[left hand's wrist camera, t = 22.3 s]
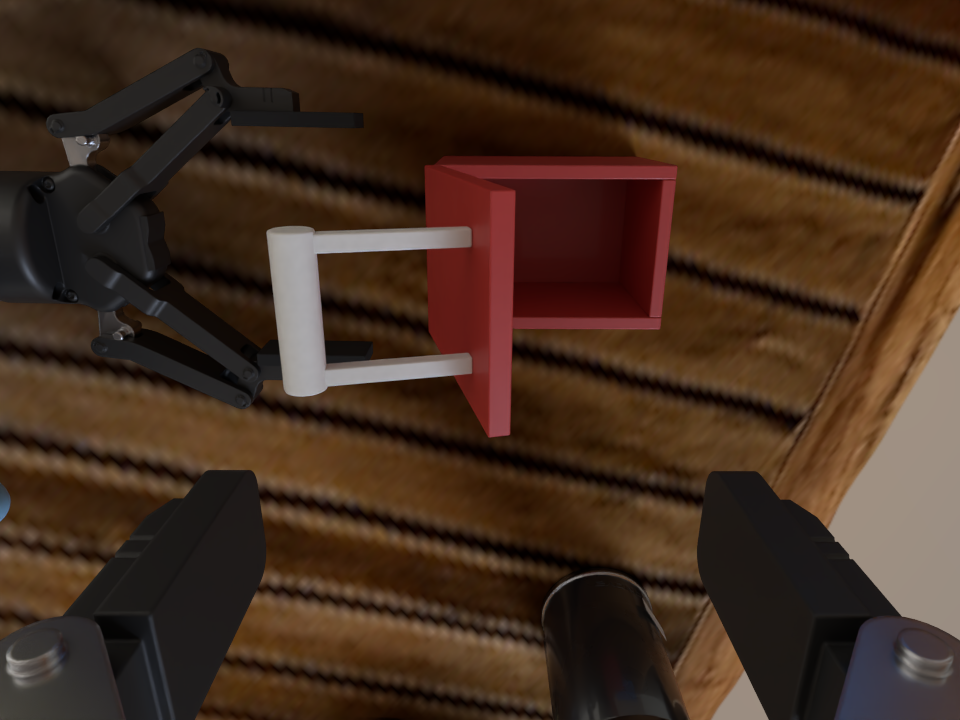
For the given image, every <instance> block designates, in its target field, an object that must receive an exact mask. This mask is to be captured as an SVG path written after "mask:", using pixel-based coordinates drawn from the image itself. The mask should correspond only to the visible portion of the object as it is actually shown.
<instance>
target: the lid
mask: <svg viewBox="0 0 960 720" xmlns="http://www.w3.org/2000/svg"><path fill="white" fill-rule="evenodd" d="M515 194H516V192H515V190H513V189H510V188H507V187H504V186H501V185H498V184H495V183H492V182H489V181H486V180H483V179H480V178H477V177H474V176H471V175H468V174H465V173H462V172H459V171H456V170H453V169H450V168H447V167H444V166H441V165H425V201H426V228H403V229H373V230H344V231H315V230H314V229H313V228H311V227H305V226H284V227H276V228H272V229H269V230H267V242H268V250H269V259H270V268H271V277H272V286H273V295H274V304H275V313H276V322H277V331H278V340H279V349H280V358H281V367H282V376H283V384H284V390H285V392H286V393H287V394H289V395H292V396H312V395H316V394H319V393H321V392H323V391H325V390H326V389H327V387H328V386H337V385H349V384H360V383H371V382H383V381H394V380H406V379H417V378H429V377H440V376H451V375H454V377H455V379H456V381H457V382H458V384H459V386H460V388H461V389H462V391H463V393H464V395H465V397H466V398H467V400H468V402H469V404H470V405H471V407H472V409H473V411H474V413H475V414H476V416H477V418H478V420H479V421H480V423H481V425H482V427H483V429H484V430H485V432H486V434H487V436H488V437H497V436H506V435H510V417H511V372H512V328H513V283H514V239H515ZM416 249H427V279H428V319H429V333H430V334H431V336H432V338H433V340H434V341H435V343H436V345H437V347H438V349H439V350H440V352H441V354H442V355H432V356H419V357H406V358H394V359H381V360H369V361H356V362H344V363H331V364H326V355H325V344H324V332H323V320H322V309H321V297H320V285H319V274H318V262H317V254H319V253H344V252H368V251H392V250H416Z"/></svg>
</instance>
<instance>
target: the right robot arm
mask: <svg viewBox="0 0 960 720" xmlns="http://www.w3.org/2000/svg"><path fill="white" fill-rule="evenodd" d="M203 87H204V88H203ZM201 88H203V89H204V90H205V93H204V94H203V95H202V96H201V97H200V98H199V99H198V100H197V101H196V102H195V103H194V104H193V105H192V106H191V107H190V108H189V109H188V110H187V111H186V112H185V113H184V114H183V115H182V116H181V117H180V118H179V119H178V120H177V121H176V122H175V123H174V124H173V125H172V126H171V127H170V128H169V129H168V130H167V131H166V132H165V133H164V134H163V135H162V136H161V137H160V138H159V139H158V140H157V141H156V142H155V143H154V144H153V145H152V146H151V147H150V148H149V149H148V150H147V151H146V152H145V153H144V154H143V155H142V156H141V157H140V158H139V159H138V160H137V161H136V162H135V163H134V164H133V165H132V166H131V167H130V168H128V169H126V170H124V171H123V172H122V173H120V174H119V175H118V176H116V175H115V174H113V173H112V172H110V171H109V170H107V169H106V168H104V167H102V166H100V165H98V164H97V163H96V156H97V154H98V153H99V152H100V151H102V150H104V149H106V148H107V147H108V145H109V143H110V137H109V136H108V135H110V134H116V133H119V132H122V131H124V130H127V129H129V128H131V127H133V126H134V125H136V124H138V123H140V122H141V121H143V120H145V119H147V118H149V117H150V116H152V115H154V114H156V113H158V112H159V111H161V110H163V109H165V108H167V107H168V106H170V105H172V104H174V103H176V102H177V101H179V100H181V99H183V98H185V97H186V96H188V95H190V94H192V93H194V92H195V91H197V90H199V89H201ZM230 120H231V123H232V126H279V127H327V128H364V126H363V114H362V113H336V112H300V102H299V93H297V92H294V91H292V90H290V89H285V88H256V87H240V86H239V85H237V84H236V83H235V81H234V80H233V78H232V76H231V74H230V71H229V63H228V60H227V59H226V57H225V56H224V55H222V54H220V53H217V52H213V51H209V50H206V49H201V48H196V49H193V50H191V51H189V52H188V53H186V54H184V55H182V56H181V57H179V58H177V59H175V60H174V61H172V62H170V63H168V64H166V65H165V66H163V67H161V68H159V69H158V70H156V71H154V72H152V73H151V74H149V75H147V76H145V77H144V78H142V79H140V80H138V81H137V82H135V83H133V84H131V85H130V86H128V87H126V88H124V89H122V90H121V91H119V92H117V93H115V94H114V95H112V96H110V97H108V98H107V99H105V100H103V101H101V102H100V103H98V104H96V105H94V106H93V107H91V108H89V109H87V110H86V111H79V112H69V113H60V114H53V115H50V116H49V117H48V118H47V121H46V126H47V129H48V131H49V132H50V133H51V134H52V135H53V136H55V137H57V138H62V141H63V144H64V148H65V151H66V154H67V157H68V161H69V164H70V167H68V168H67V169H66V170H64V171H62V172H30V171H0V301H4V302H11V303H59V304H83V305H87V306H89V307H91V308H93V309H95V310H97V311H98V317H99V330H100V336H99V337H97V338H95V339H94V340H93V341H92V342H91V348H92V350H93V352H94V353H95V354H97V355H98V356H102V357H110V358H118V359H126V360H131V361H133V362H136V363H138V364H140V365H142V366H145V367H147V368H149V369H151V370H154V371H156V372H158V373H160V374H163V375H165V376H167V377H169V378H172V379H174V380H176V381H178V382H180V383H183V384H185V385H187V386H189V387H192V388H194V389H196V390H198V391H201V392H203V393H205V394H207V395H210V396H212V397H214V398H216V399H219V400H221V401H223V402H225V403H228V404H230V405H232V406H234V407H236V408H240V409H245V408H247V407H249V405H250V404H251V403H252V402H253V401H254V399H255V398H256V397H257V396H258V394H259V393H260V392H261V391H262V389H263V381H264V380H283V376H282V367H281V358H280V349H279V340H270V341H269V342H268V343H267V344H266V345H265V346H264V347H263V348H262V349H261V348H259V347H258V346H257V345H255V344H254V343H253V342H251V341H250V340H249V339H247V338H246V337H245V336H243V335H242V334H241V333H239V332H238V331H237V330H235V329H234V328H233V327H231V326H230V325H229V324H227V323H226V322H225V321H223V320H222V319H221V318H219V317H218V316H217V315H215V314H214V313H213V312H211V311H210V310H209V309H207V308H206V307H205V306H203V305H202V304H201V303H199V302H198V301H197V300H195V299H194V298H193V297H191V296H190V295H189V294H187V293H186V292H185V291H184V287H183V286H182V285H181V284H180V283H179V282H178V281H176V280H175V279H174V278H172V277H171V276H170V275H168V274H167V273H166V270H167V265H169V264H171V259H170V253H169V249H168V247H167V245H166V242H165V240H164V231H165V220H164V213H163V212H159V210H158V208H157V206H156V205H155V203H154V202H153V201H152V199H153V198H154V197H155V196H156V195H157V194H158V193H159V192H160V191H161V190H162V189H163V188H165V187H166V185H167V184H168V181H169V180H170V179H171V178H172V177H173V176H174V175H175V174H176V173H177V172H178V171H179V170H180V169H181V168H182V167H183V166H184V165H185V164H186V163H187V162H188V161H189V160H190V159H191V158H192V157H193V156H194V155H195V154H196V153H197V152H198V151H199V150H200V149H201V148H202V147H203V146H204V145H205V144H206V143H207V142H208V141H209V140H210V139H211V138H212V137H214V136H215V135H216V134H217V133H218V132H219V131H220V130H221V129H222V128H223V127H224V126H225V125H226V124H227V123H228V122H229V121H230ZM149 287H150V288H152V289H153V290H154V291H153V290H151V289H149ZM129 303H131V304H132V305H134V306H135V307H136V308H138V309H139V310H140V311H142V312H143V313H145V314H147V315H150V316H155V317H157V318H159V319H160V320H162V321H163V322H164V323H166V324H167V325H168V326H170V327H171V328H172V329H174V330H175V331H177V332H178V333H179V334H181V335H182V336H183V337H185V338H186V339H187V340H189V341H190V342H192V343H193V344H194V345H196V346H197V347H198V348H200V349H201V350H202V351H204V352H205V353H207V354H208V355H207V354H204V353H202V352H200V351H198V350H196V349H193V348H191V347H189V346H187V345H185V344H182V343H180V342H178V341H176V340H174V339H172V338H169V337H167V336H165V335H163V334H160V333H158V332H155V331H152V330H148V329H143V328H142V324H141V322H139V321H135V320H133V319H130V318H128V317H127V316H126V315H125V314H124V312H123V309H122V307H124V306H126V305H128V304H129ZM324 344H325V355H326V364H331V363H344V362H356V361H369V360H370V358H371V356H372V354H373V342H365V341H324ZM9 507H10V495H9V493H8V491H7V490H6V488H5V487H4V486H3V485H2V484H1V483H0V521H1V520H2V519H3V518H4V517H5V516H6V514H7V512H8V510H9Z"/></svg>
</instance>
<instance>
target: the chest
mask: <svg viewBox="0 0 960 720" xmlns="http://www.w3.org/2000/svg"><path fill="white" fill-rule="evenodd" d="M434 165H441V166H444V167H447V168H450V169H453V170H456V171H459V172H462V173H465V174H468V175H471V176H474V177H477V178H480V179H483V180H486V181H489V182H492V183H495V184H498V185H501V186H504V187H507V188H510V189H513V190H515V192H516V194H515V239H514V283H513V328H512V329H660V325H661V315H662V306H663V296H664V287H665V278H666V268H667V259H668V250H669V240H670V231H671V222H672V212H673V203H674V193H675V184H676V180H675V179H676V175H677V166H676V165H672V164H668V163H663V162H658V161H654V160H649V159H645V158H640V157H596V156H443V157H442V158H441V159H440V160H439V161H438V162H437V163H436V164H434Z"/></svg>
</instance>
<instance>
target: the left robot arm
mask: <svg viewBox="0 0 960 720" xmlns="http://www.w3.org/2000/svg"><path fill="white" fill-rule="evenodd" d="M697 560H698V568H699V573H700V577H701V580H702V582H703V585H704V587H705V589H706V591H707V593H708V595H709V597H710V599H711V601H712V603H713V605H714V607H715V609H716V611H717V613H718V616H719V618H720V620H721V622H722V624H723V626H724V628H725V630H726V632H727V634H728V636H729V638H730V640H731V642H732V644H733V647H734V649H735V651H736V653H737V655H738V657H739V659H740V661H741V663H742V665H743V667H744V669H745V671H746V673H747V675H748V677H749V680H750V682H751V684H752V686H753V688H754V690H755V692H756V694H757V696H758V698H759V700H760V702H761V704H762V706H763V708H764V710H765V713H766V715H767V717H768V719H769V720H960V640H958V639H957V638H955V637H953V636H952V635H950V634H948V633H947V632H945V631H943V630H941V629H939V628H937V627H934V626H932V625H930V624H927V623H924V622H921V621H918V620H915V619H911V618H906V617H902V616H901V615H900V614H899V613H898V612H897V610H896V609H895V608H894V607H893V606H892V605H891V603H890V602H889V601H888V600H887V599H886V598H885V596H884V595H883V594H882V593H881V592H880V591H879V589H878V588H877V587H876V586H875V585H874V583H873V582H872V581H871V580H870V579H869V578H868V576H867V575H866V574H865V573H864V572H863V571H862V569H861V568H860V567H859V566H858V565H857V564H856V562H855V561H854V560H853V559H849V554H848V553H847V552H846V551H845V550H844V548H843V547H842V546H841V545H840V544H839V542H835V540H834V537H833V536H832V534H831V533H830V532H829V531H828V530H827V528H826V527H825V526H824V525H823V524H822V523H821V521H820V520H819V519H818V518H817V517H816V516H814V515H813V514H811V513H810V512H808V511H807V510H805V509H803V508H802V507H800V506H799V505H797V504H796V503H794V502H793V501H791V500H780V499H779V498H778V496H777V495H776V494H775V493H774V491H773V490H772V489H771V488H770V486H769V485H768V484H767V482H766V481H765V480H764V479H763V477H762V476H761V475H760V474H759V473H758V472H755V471H713V472H711V473H710V474H709V476H708V479H707V482H706V488H705V495H704V502H703V509H702V516H701V523H700V531H699V538H698V545H697ZM265 561H266V542H265V534H264V527H263V520H262V513H261V506H260V499H259V491H258V484H257V479H256V476H255V474H254V473H253V471H251V470H208V471H206V472H205V473H204V474H203V475H202V476H201V477H200V479H199V480H198V481H197V482H196V484H195V485H194V486H193V488H192V489H191V490H190V491H189V493H188V494H187V495H186V496H185V498H184V499H172V500H171V501H169V502H168V503H166V504H165V505H163V506H162V507H160V508H159V509H157V510H156V511H154V512H152V513H151V514H149V515H148V516H147V517H146V518H145V519H144V520H143V521H142V523H141V524H140V525H139V526H138V527H137V529H136V530H135V531H134V532H133V533H132V534H131V536H130V540H126V542H125V543H124V544H123V545H122V546H121V547H120V549H119V550H118V551H117V552H116V556H115V558H111V559H110V560H109V562H108V563H107V564H106V565H105V566H104V568H103V569H102V570H101V571H100V572H99V573H98V575H97V576H96V577H95V578H94V579H93V581H92V582H91V583H90V584H89V585H88V586H87V588H86V589H85V590H84V591H83V592H82V594H81V595H80V596H79V597H78V598H77V599H76V601H75V602H74V603H73V604H72V605H71V607H70V608H69V609H68V610H67V611H66V612H65V614H64V615H63V616H60V617H54V618H49V619H45V620H42V621H39V622H36V623H33V624H30V625H28V626H26V627H23V628H21V629H19V630H17V631H15V632H13V633H11V634H10V635H8V636H7V637H5V638H3V639H2V640H0V720H195V718H196V716H197V714H198V712H199V709H200V707H201V705H202V703H203V701H204V699H205V697H206V695H207V693H208V691H209V689H210V686H211V684H212V682H213V680H214V678H215V676H216V674H217V672H218V670H219V668H220V666H221V663H222V661H223V659H224V657H225V655H226V653H227V651H228V649H229V647H230V645H231V643H232V640H233V638H234V636H235V634H236V632H237V630H238V628H239V626H240V624H241V622H242V620H243V617H244V615H245V613H246V611H247V609H248V607H249V605H250V603H251V601H252V599H253V597H254V594H255V592H256V590H257V588H258V586H259V584H260V582H261V579H262V576H263V573H264V568H265ZM541 619H542V627H543V631H544V633H545V638H544V648H545V656H546V664H547V672H548V680H549V688H550V697H551V705H552V713H553V720H690V718H689V716H688V713H687V710H686V707H685V704H684V701H683V698H682V696H681V693H680V690H679V687H678V684H677V681H676V679H675V676H674V673H673V670H672V667H671V664H670V661H669V659H668V656H667V653H666V650H665V647H664V644H663V641H662V639H661V636H660V633H659V630H660V631H661V633H662V635H663V636H664V638H665V639H666V637H665V635H664V632H663V629H662V627H661V626H660V624H659V623H658V621H657V620H656V618H655V616H654V615H653V613H652V607H651V603H650V600H649V598H648V595H647V593H646V591H645V589H644V588H643V587H642V585H641V584H640V583H639V582H638V581H637V580H635V579H634V578H633V577H631V576H630V575H628V574H626V573H624V572H621V571H618V570H614V569H609V568H589V569H584V570H580V571H577V572H574V573H572V574H569V575H567V576H566V577H564V578H562V579H561V580H560V581H558V582H557V583H556V584H555V585H554V586H553V587H552V588H551V589H550V590H549V592H548V593H547V595H546V597H545V599H544V601H543V604H542V609H541ZM658 628H659V630H658ZM666 641H667V640H666Z"/></svg>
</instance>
